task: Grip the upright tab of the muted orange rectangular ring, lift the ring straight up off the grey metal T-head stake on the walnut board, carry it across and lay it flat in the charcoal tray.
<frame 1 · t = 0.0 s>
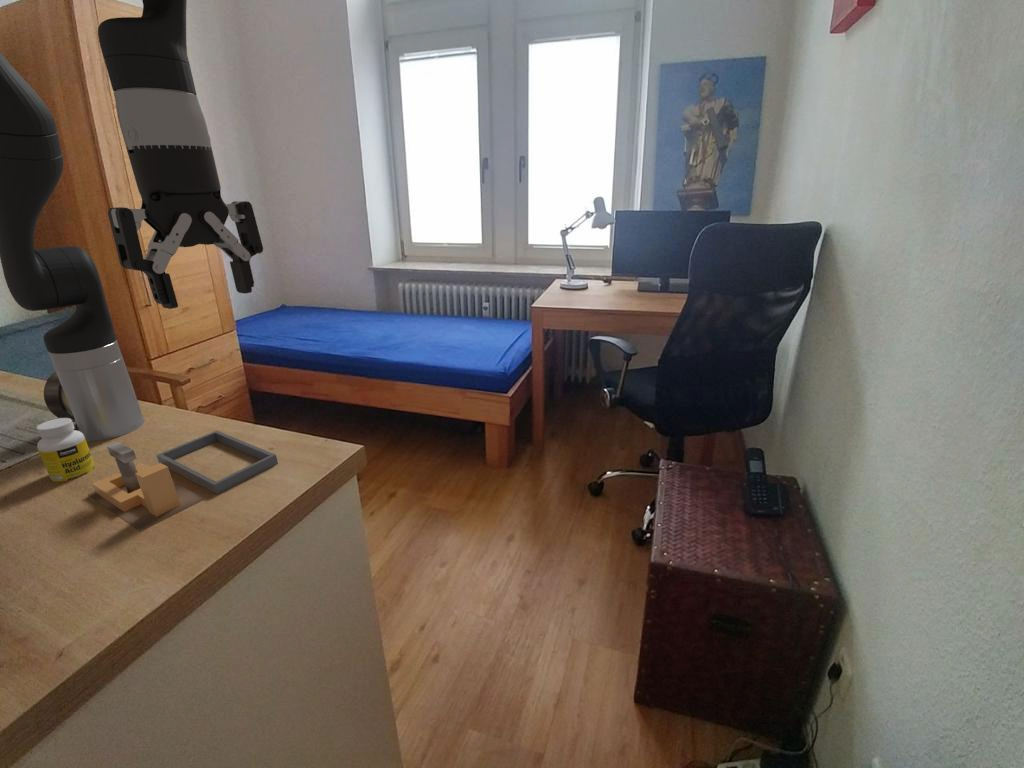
hand: (209, 299, 58), 29 cm above the counter, tool pointing down, fingers open, 8 cm apart
supplement bottle: (77, 481, 77), on the counter
alarm clock: (93, 424, 96), on the counter
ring: (135, 490, 71), point 1 cm above the counter, touching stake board
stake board: (148, 505, 70), on the counter
tray: (220, 471, 78), on the counter
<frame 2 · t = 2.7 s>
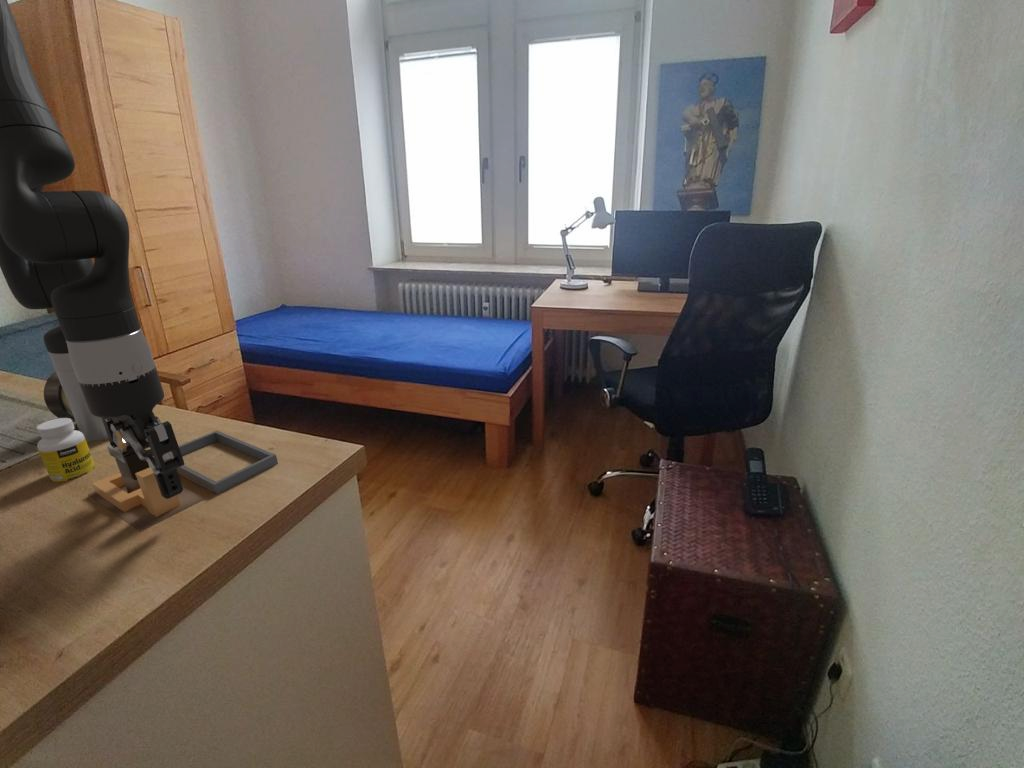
hand: (157, 485, 66), 5 cm above the counter, tool pointing down, fingers open, 8 cm apart
nothing on the counter moved.
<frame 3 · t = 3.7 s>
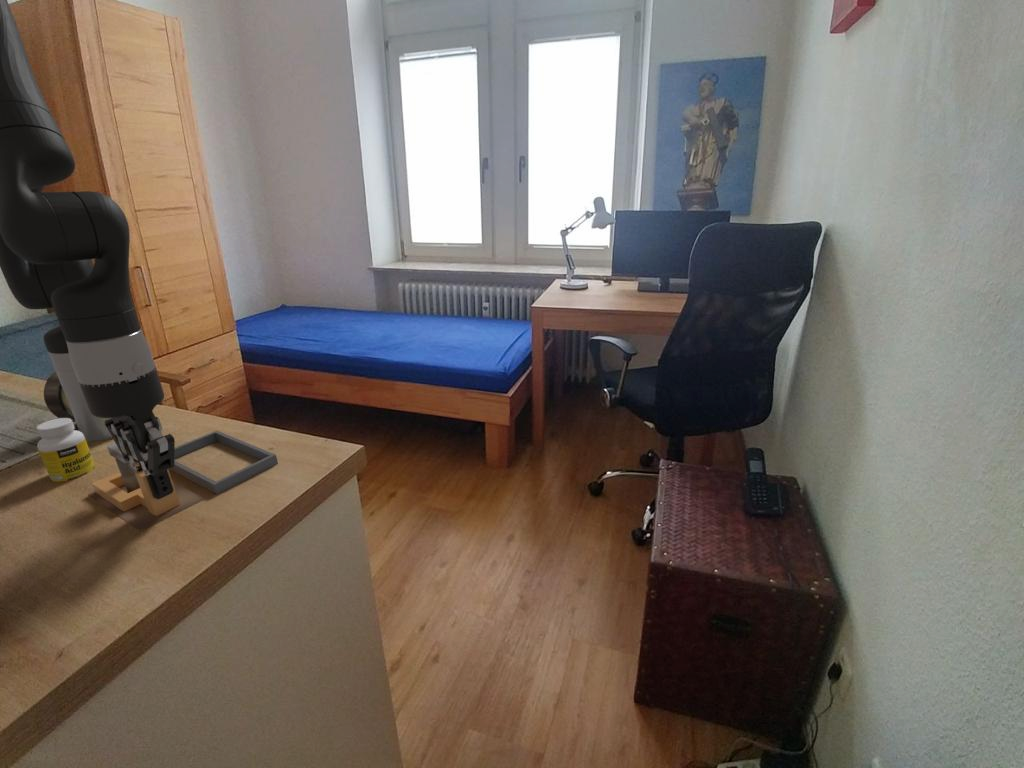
hand: (159, 492, 66), 4 cm above the counter, tool pointing down, fingers closed on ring
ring: (135, 490, 71), point 2 cm above the counter, touching gripper
everything else where it was.
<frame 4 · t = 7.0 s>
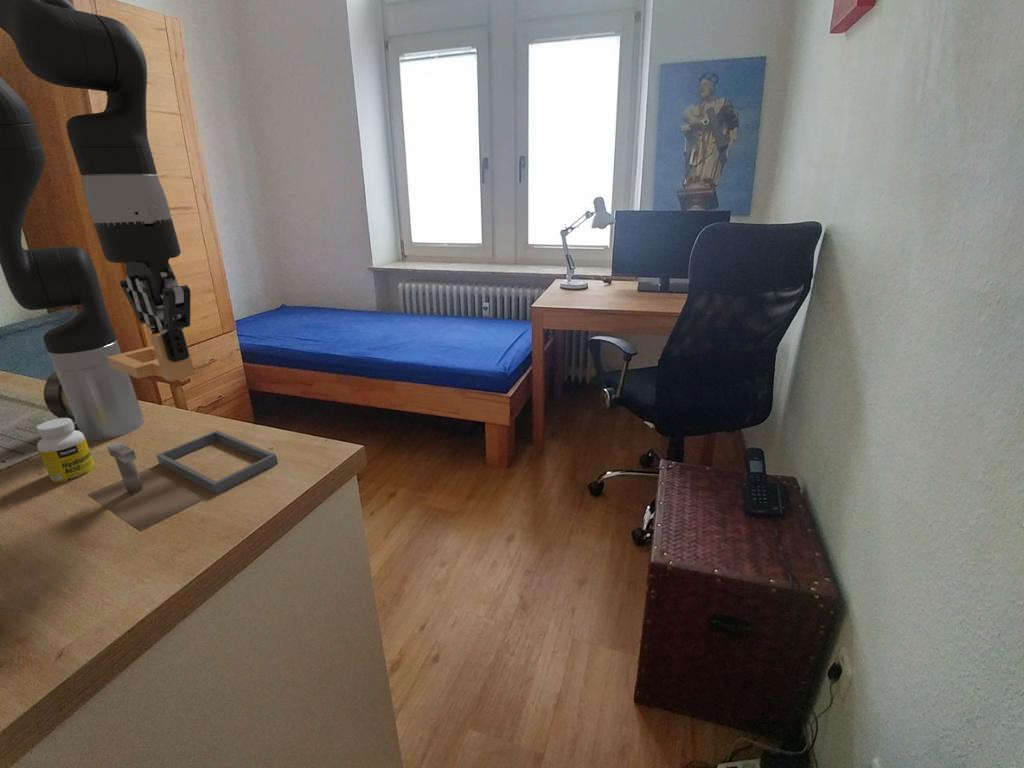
hand: (174, 357, 64), 21 cm above the counter, tool pointing down, fingers closed on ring
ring: (150, 365, 70), point 18 cm above the counter, touching gripper
everything else where it was.
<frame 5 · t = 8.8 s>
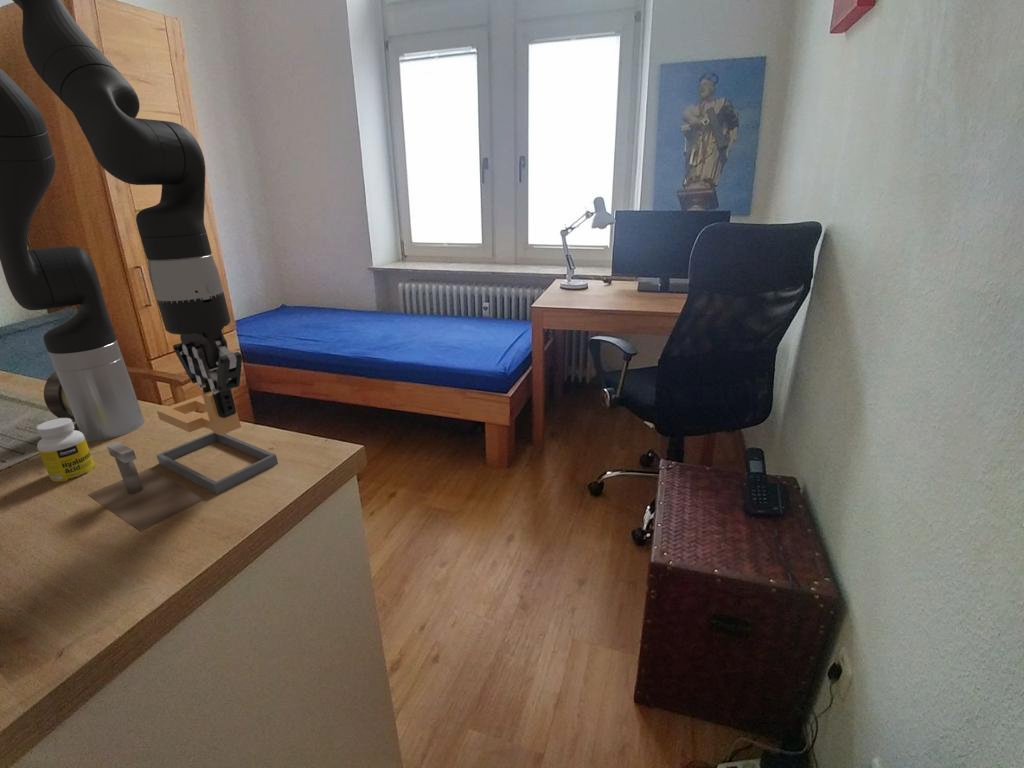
hand: (223, 413, 71), 12 cm above the counter, tool pointing down, fingers closed on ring
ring: (196, 417, 76), point 9 cm above the counter, touching gripper
everything else where it was.
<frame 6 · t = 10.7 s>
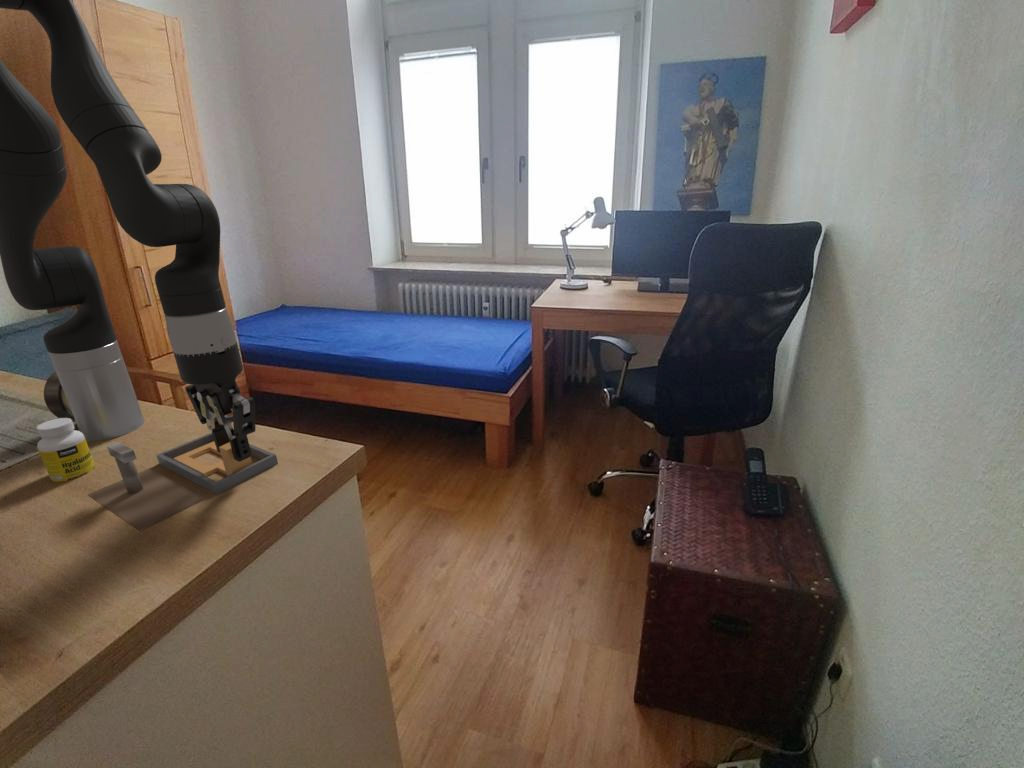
hand: (234, 454, 74), 5 cm above the counter, tool pointing down, fingers open, 4 cm apart
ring: (211, 464, 79), point 1 cm above the counter, touching tray
everything else where it was.
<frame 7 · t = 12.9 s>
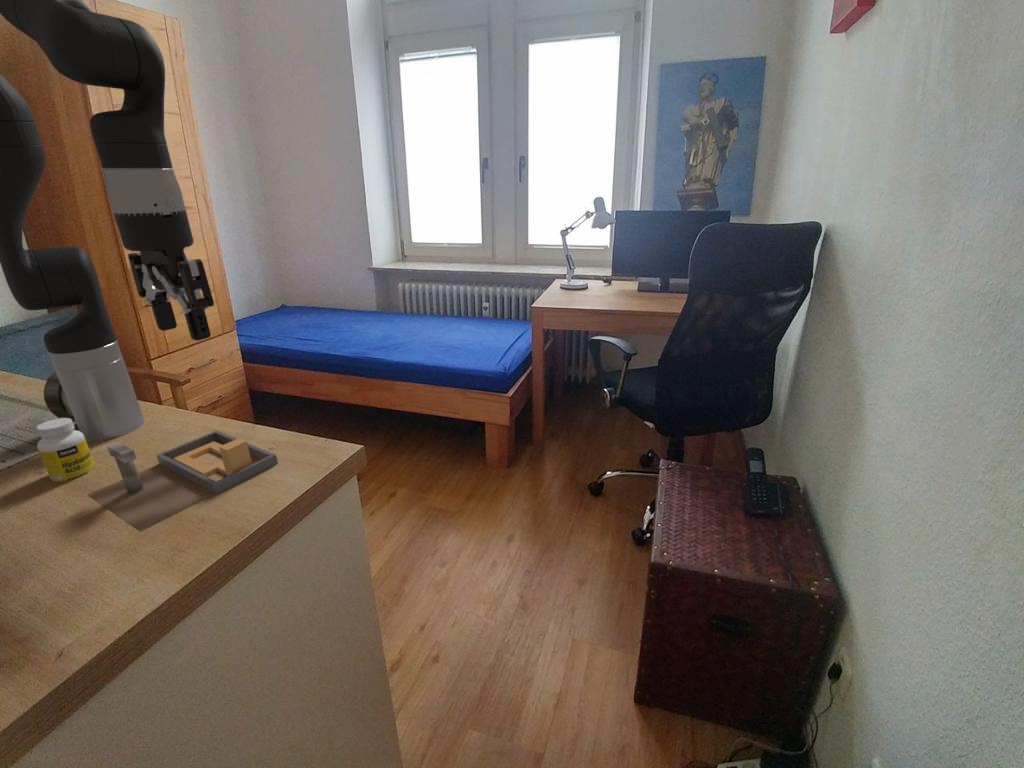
hand: (184, 333, 68), 23 cm above the counter, tool pointing down, fingers open, 8 cm apart
nothing on the counter moved.
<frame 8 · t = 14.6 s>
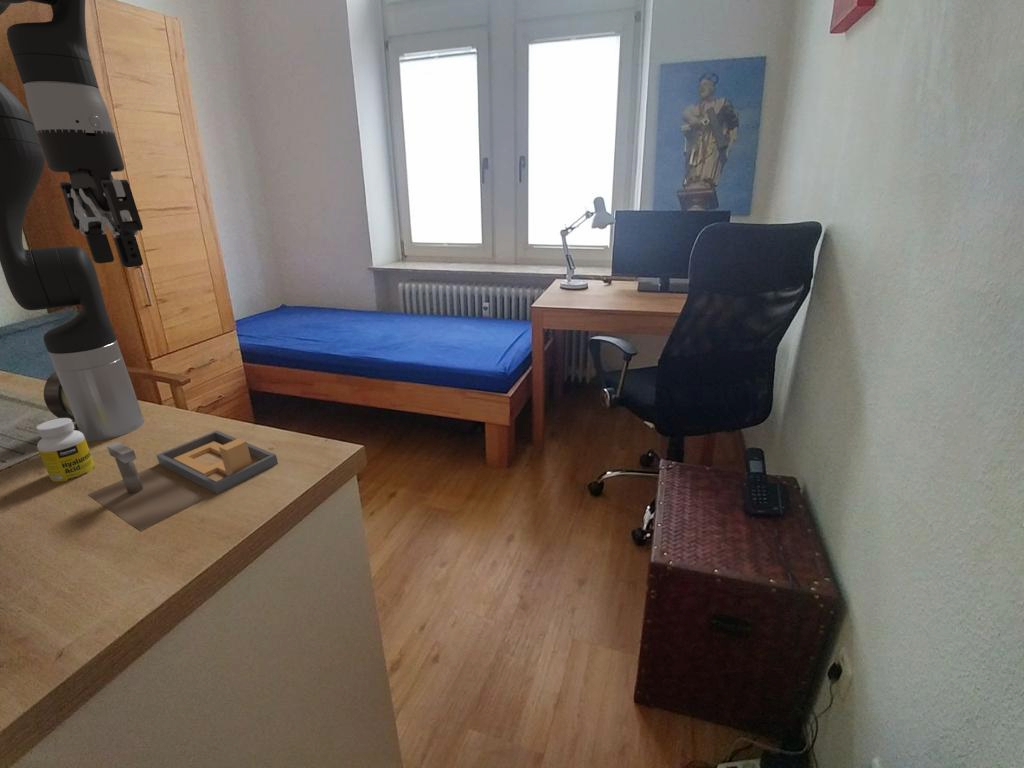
hand: (118, 264, 67), 32 cm above the counter, tool pointing down, fingers open, 8 cm apart
nothing on the counter moved.
at the end: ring 0.3 cm from the target spot on the tray, point 0.6 cm above the tray's base; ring tilted 0°; the gripper is holding nothing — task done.
